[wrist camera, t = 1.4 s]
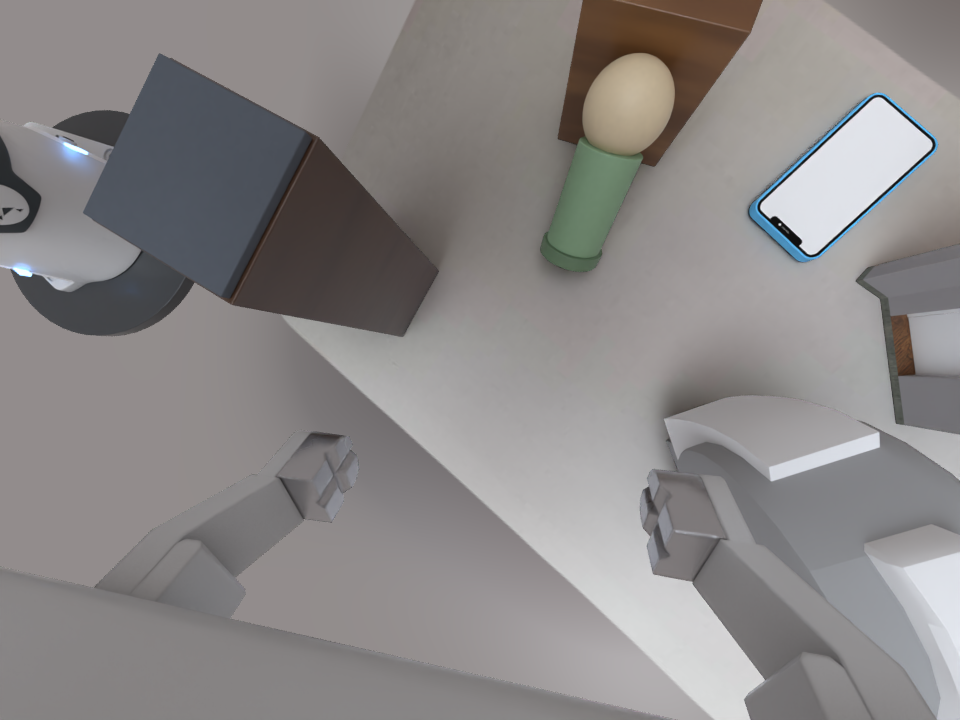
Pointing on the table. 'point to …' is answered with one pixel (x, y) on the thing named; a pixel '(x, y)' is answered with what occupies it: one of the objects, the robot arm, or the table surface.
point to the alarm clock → (845, 521)
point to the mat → (196, 175)
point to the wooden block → (656, 52)
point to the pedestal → (333, 253)
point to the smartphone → (843, 177)
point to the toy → (608, 156)
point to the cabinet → (922, 335)
